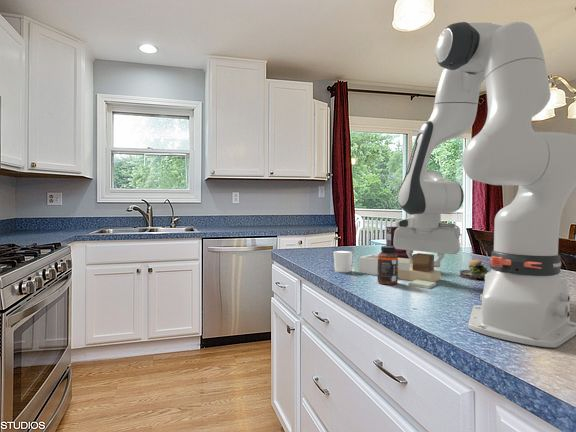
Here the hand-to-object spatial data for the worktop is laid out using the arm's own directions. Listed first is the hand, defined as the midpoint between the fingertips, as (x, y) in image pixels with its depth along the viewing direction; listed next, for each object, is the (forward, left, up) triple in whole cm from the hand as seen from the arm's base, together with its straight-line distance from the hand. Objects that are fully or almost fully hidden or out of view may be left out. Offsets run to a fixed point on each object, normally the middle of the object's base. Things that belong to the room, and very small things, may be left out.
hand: (424, 265), depth 113 cm
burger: (+17, -12, -5) cm, 21 cm away
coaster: (-8, -3, -5) cm, 10 cm away
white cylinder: (-6, +27, -5) cm, 28 cm away
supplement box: (+14, +15, -5) cm, 22 cm away
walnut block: (+1, +1, -2) cm, 2 cm away
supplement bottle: (-13, +6, -5) cm, 15 cm away
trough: (0, +9, -5) cm, 10 cm away
